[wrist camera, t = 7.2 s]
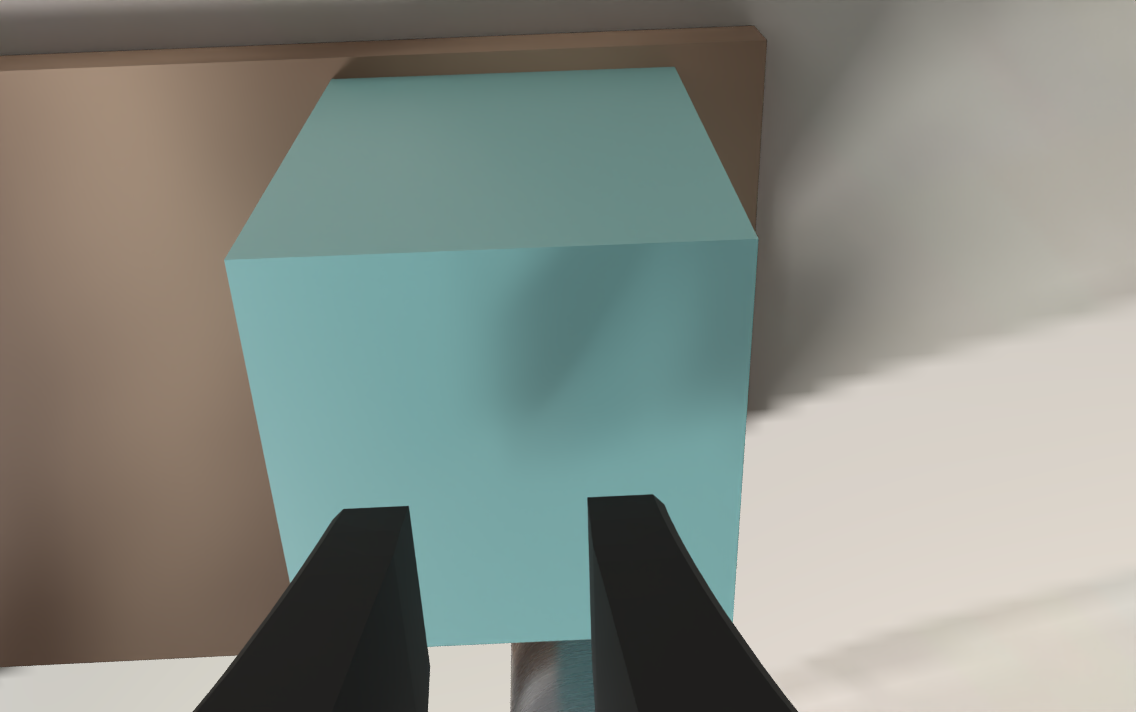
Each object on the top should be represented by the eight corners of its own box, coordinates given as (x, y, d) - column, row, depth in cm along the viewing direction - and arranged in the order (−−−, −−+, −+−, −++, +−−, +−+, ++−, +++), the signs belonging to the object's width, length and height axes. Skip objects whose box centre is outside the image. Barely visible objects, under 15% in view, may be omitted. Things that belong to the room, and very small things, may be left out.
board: (18, 631, 23) (-2, 667, 22) (-201, 63, 17) (-241, 80, 16) (723, 597, 23) (730, 631, 22) (754, 25, 17) (767, 40, 16)
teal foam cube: (371, 375, 19) (304, 652, 13) (331, 79, 16) (223, 260, 10) (667, 362, 19) (731, 632, 13) (674, 67, 16) (758, 239, 10)
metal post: (516, 619, 22) (514, 896, 16) (507, 509, 20) (502, 773, 15) (654, 613, 22) (695, 886, 16) (655, 503, 20) (701, 762, 15)
